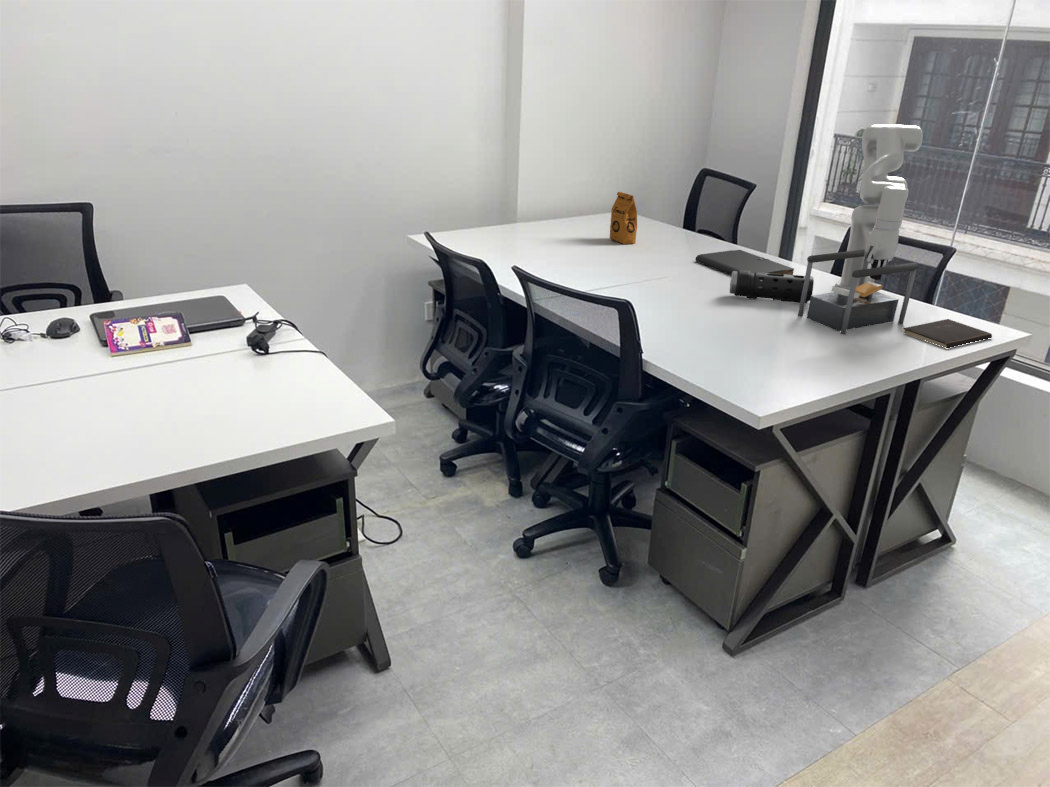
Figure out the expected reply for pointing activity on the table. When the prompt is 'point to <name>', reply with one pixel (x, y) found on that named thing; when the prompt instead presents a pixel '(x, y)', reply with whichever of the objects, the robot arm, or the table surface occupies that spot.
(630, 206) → the coffee package
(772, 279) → the muzzle brake
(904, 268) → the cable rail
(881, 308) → the box
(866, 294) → the paddle
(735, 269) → the file folder
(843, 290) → the set paddle
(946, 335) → the hardcover book
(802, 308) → the rail
